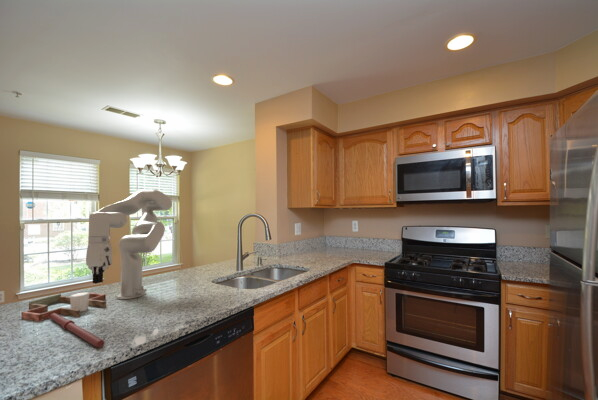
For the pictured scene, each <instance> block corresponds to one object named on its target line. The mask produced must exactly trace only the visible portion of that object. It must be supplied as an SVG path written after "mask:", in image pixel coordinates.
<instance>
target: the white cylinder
mask: <svg viewBox="0 0 598 400" xmlns="http://www.w3.org/2000/svg"><path fill="white" fill-rule="evenodd" d="M90 293H91V292H88V291H82V292H78V293H72V294H71V295H69V297H70V302H71V303H70V308H71V309H78V310H80V312H83V311H86V310H88V309H89V305H88V302H89V294H90Z"/></svg>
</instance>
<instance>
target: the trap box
mask: <svg viewBox="0 0 598 400" xmlns="http://www.w3.org/2000/svg"><path fill="white" fill-rule="evenodd" d="M89 293H90V294H89V302H88V307H89V306H91V307H97V308H98V307H99V308H107V301H106V297H107V296H106V295H107V294H105V293H96V292H89ZM55 303H67V304H71V302H70V296H64V295H62V294H61V293H57V294H53V295H50V296H46V297H42V298H38V299H35V300H34V299H33V300H30V301H29V302H28V310H24V311H22V312H21V316H20V317H21V318H20V319H24V320H29V321H35V322H41V321H44V320H47V319H50V315H51V314H53V313H56V314H58V315H60V316H62V315H65V316H70V317H76V318H77V317H81V311H80V310H78V309H71V307H70V308H68V307H62V306H61V307H59V308H55V309H52V310H48V309H49V306H48V305H53V304H55Z"/></svg>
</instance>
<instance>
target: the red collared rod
mask: <svg viewBox="0 0 598 400" xmlns="http://www.w3.org/2000/svg"><path fill="white" fill-rule="evenodd" d="M49 319H51V320H52V321H53V322H55V323H57V324H58V325H60V326H61V328H62V329H64V330H65V331H67V330H68V331H70V332H71V333H74V334H75V335H76V336H78V337H80V338H81V339H83V340H84V341H86V342H87V343H89V344H91V345H92V346H94V347H95V348H102V347H103V346H104V345H105V341H104V339H102V338H100V337H98V336H97V335H95V334H93V333H91V332H89V331H88V330H85V329H84V328H82V327H80V326H79V325H77V324H75V322H74V321H73V320H71V319H66V318H65V317H64V316H62V315H61V314H60V315H58V314H56V313H53V314H51V315H50V318H49Z"/></svg>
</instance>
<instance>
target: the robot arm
mask: <svg viewBox="0 0 598 400" xmlns="http://www.w3.org/2000/svg"><path fill="white" fill-rule="evenodd" d="M172 206H173V202H172V199H171V198H170V196H168V195H167V194H165V193H163V192H162V191H160V190H157V189H141V190H137V191H135V192H133V193H132V194H131V195H129V196H127V197H126V198H125V199H123V200H121V201H117V202H115V203H111V204H109V205H106V206H104V207H102V208H100V209H99V210H97V211H95V212H91V213H90V214H89V216H88V237H87V238H88V240H87V248H86V256H85V264H86V266H87V268H88V270H91V274H92V284H100V283H103V281H104V273H105V271H106V270H109V267H110V266H112V264H113V250H112V245H111V243H110V241H111V238H110V235H111V229H120V228H124V226H126V224H127V222H128V216H131V215H135V214H136V213H138V212H139V211H140V210H141V217H140V219H138V221H137V222H136V224H134V227H133V228H132V231H131V234H128V235H124V236H122V237H121V238H120V239H119V241H118V250H119V255H120V293H118V294H116V298H117V300H130V299H136V298H139V297H143V296H145V294H146V292H147V291H148V290H147V289H146V288H144V285H143V258H142V256H141V254H149V253H152V252H154V251H155V250H156V249H157V246H158V245H159V243H160V242H161V240H162V238H163V237H164V234H165V231H166V230H165V228H166V227H165V225H164V223H163V222H162V221H158V217H157V215H156V214H155V212H157V211H160V212H161V211H162V212H163V211H168V210H170V209H171V208H172Z"/></svg>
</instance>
